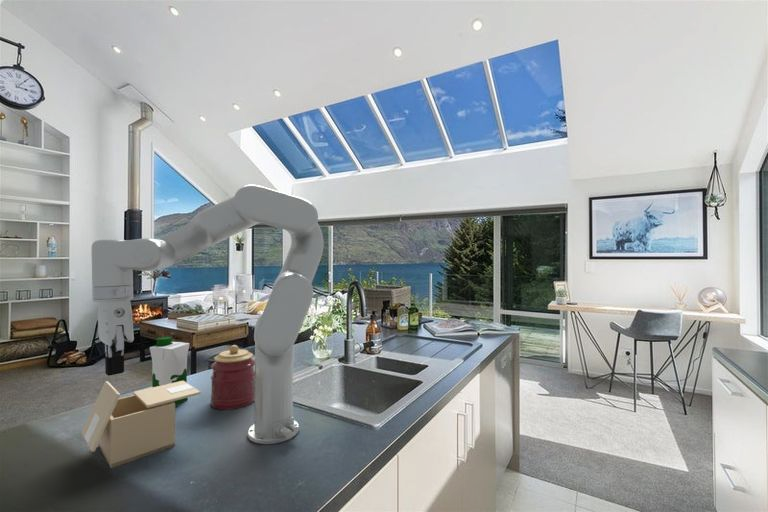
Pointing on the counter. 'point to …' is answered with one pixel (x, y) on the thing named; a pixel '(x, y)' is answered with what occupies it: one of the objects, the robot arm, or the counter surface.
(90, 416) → the outer flap
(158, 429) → the parcel
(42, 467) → the counter surface
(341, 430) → the counter surface
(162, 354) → the milk carton
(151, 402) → the panel
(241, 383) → the canister
